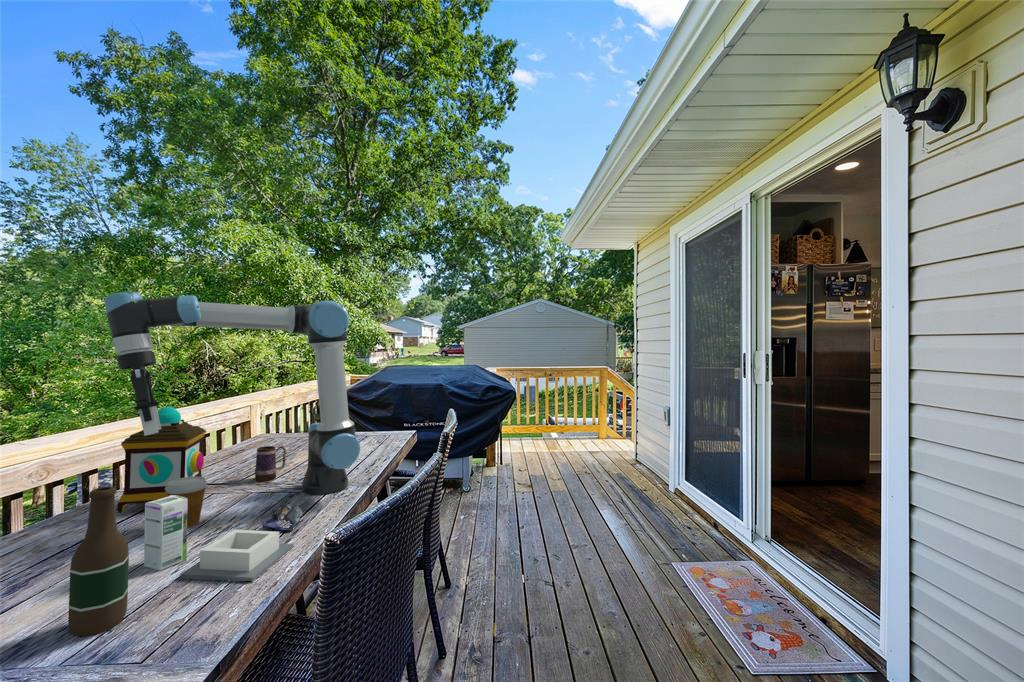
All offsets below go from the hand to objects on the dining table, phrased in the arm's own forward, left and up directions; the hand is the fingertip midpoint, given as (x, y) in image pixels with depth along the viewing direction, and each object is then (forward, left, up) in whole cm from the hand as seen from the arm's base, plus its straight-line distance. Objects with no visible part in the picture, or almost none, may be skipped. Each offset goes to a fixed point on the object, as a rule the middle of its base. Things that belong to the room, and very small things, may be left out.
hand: (153, 432), depth 117 cm
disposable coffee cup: (-7, -3, -27) cm, 28 cm away
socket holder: (-17, +30, -27) cm, 44 cm away
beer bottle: (+6, +42, -27) cm, 50 cm away
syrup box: (-3, +21, -27) cm, 34 cm away
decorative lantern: (-2, -28, -27) cm, 39 cm away
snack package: (-30, +12, -27) cm, 42 cm away
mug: (-33, -38, -27) cm, 57 cm away
